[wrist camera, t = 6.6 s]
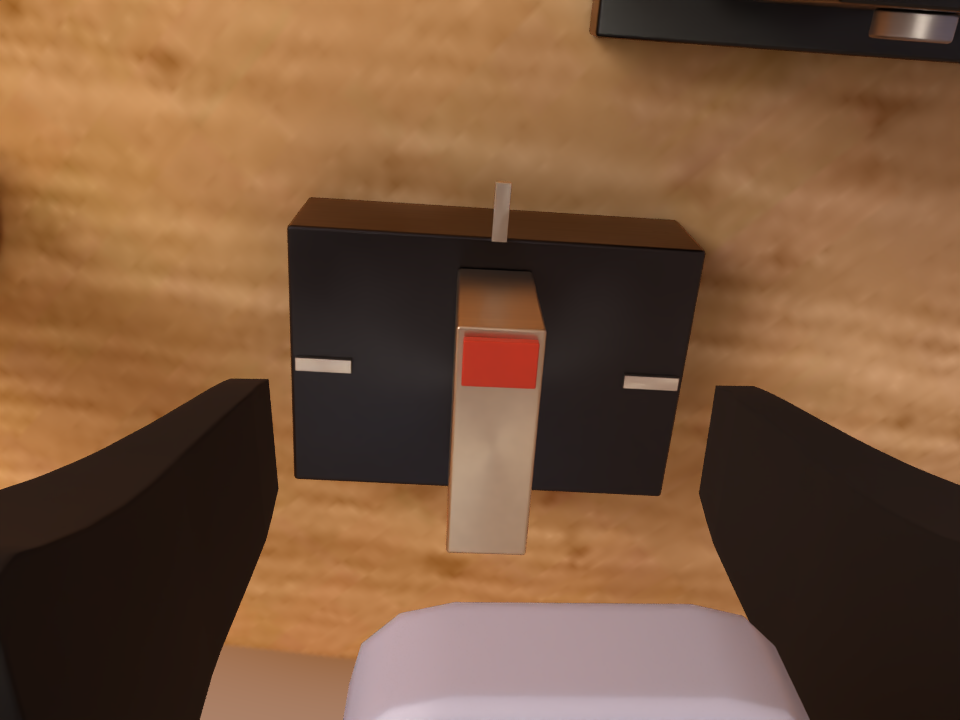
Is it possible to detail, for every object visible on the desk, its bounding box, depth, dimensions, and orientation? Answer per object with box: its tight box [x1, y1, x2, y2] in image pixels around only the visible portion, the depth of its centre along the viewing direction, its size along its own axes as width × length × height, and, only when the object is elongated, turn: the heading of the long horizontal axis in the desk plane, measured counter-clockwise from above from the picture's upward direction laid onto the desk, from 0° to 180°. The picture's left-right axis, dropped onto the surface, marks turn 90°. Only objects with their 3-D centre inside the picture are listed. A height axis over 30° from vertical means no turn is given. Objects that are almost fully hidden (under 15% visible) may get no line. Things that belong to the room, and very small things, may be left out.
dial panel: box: [287, 181, 705, 496], centre depth 22 cm, size 10×10×3 cm
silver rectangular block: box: [446, 269, 547, 555], centre depth 19 cm, size 6×2×4 cm, turn 177°
